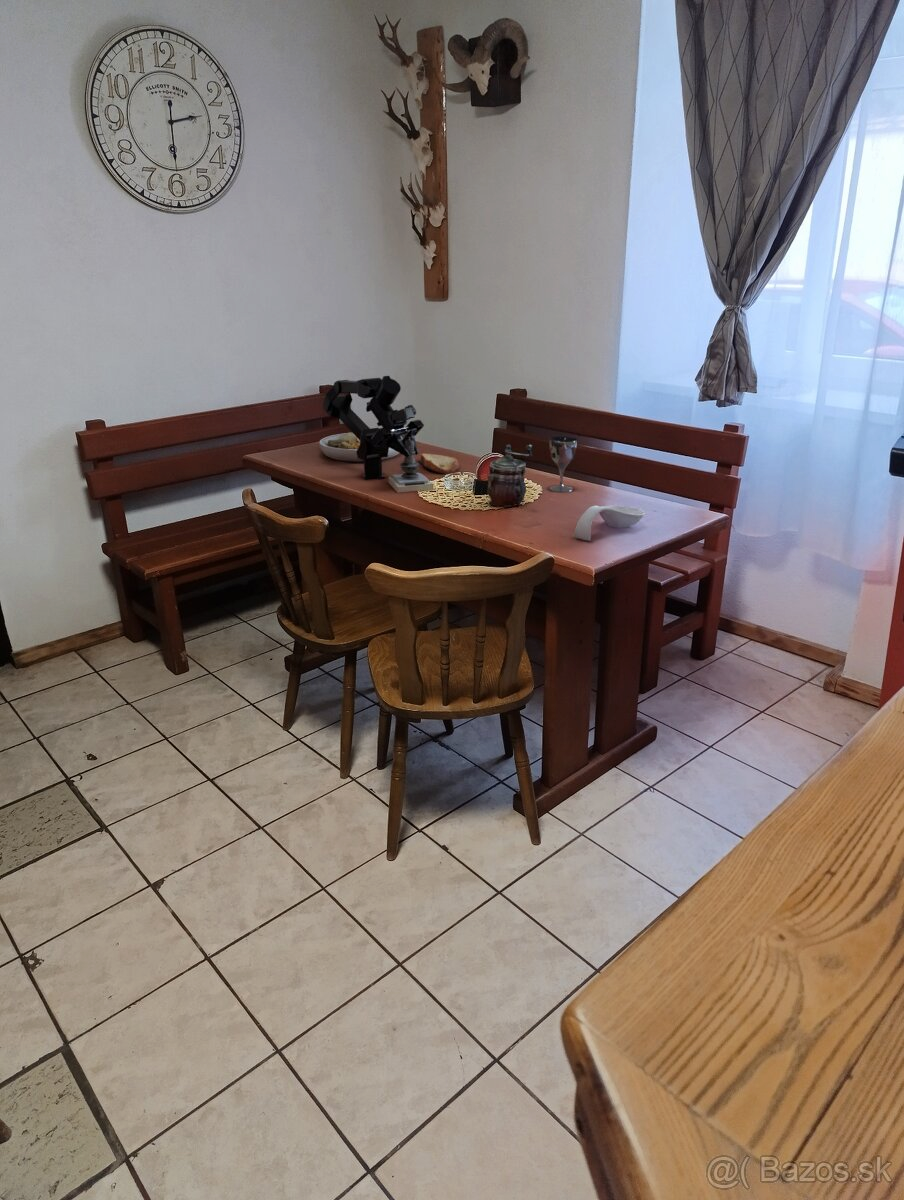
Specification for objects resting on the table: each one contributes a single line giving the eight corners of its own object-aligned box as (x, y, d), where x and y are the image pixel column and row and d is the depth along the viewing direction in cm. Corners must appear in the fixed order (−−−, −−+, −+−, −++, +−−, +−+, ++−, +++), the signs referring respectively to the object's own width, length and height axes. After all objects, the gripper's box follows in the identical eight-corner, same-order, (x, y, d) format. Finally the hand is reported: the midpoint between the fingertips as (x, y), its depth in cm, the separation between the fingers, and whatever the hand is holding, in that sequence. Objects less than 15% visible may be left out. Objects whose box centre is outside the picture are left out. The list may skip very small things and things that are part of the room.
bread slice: (425, 458, 283) (425, 447, 282) (472, 463, 276) (472, 452, 274) (400, 469, 268) (399, 458, 267) (448, 475, 261) (448, 463, 260)
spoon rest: (613, 515, 220) (615, 489, 217) (652, 523, 212) (654, 497, 210) (562, 535, 204) (563, 508, 201) (602, 546, 196) (604, 517, 194)
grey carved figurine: (420, 473, 250) (420, 434, 245) (418, 478, 245) (417, 439, 240) (401, 473, 251) (401, 434, 246) (398, 478, 245) (398, 438, 241)
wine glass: (577, 487, 247) (580, 437, 241) (569, 493, 240) (572, 442, 234) (552, 484, 250) (554, 435, 244) (544, 490, 243) (546, 440, 238)
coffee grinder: (518, 514, 221) (520, 448, 214) (477, 504, 230) (477, 440, 224) (546, 504, 230) (548, 441, 223) (505, 495, 239) (507, 433, 232)
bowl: (302, 456, 286) (300, 434, 283) (358, 442, 309) (357, 421, 306) (367, 468, 271) (366, 444, 267) (421, 451, 293) (421, 429, 290)
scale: (388, 482, 253) (388, 474, 252) (422, 480, 256) (422, 472, 255) (397, 492, 242) (397, 484, 241) (433, 489, 245) (433, 481, 244)
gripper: (376, 401, 234) (406, 444, 232) (418, 392, 247) (447, 433, 246) (358, 425, 242) (386, 467, 240) (400, 415, 255) (427, 455, 253)
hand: (413, 455), depth 244 cm, fingers closed on grey carved figurine, 3 cm apart
